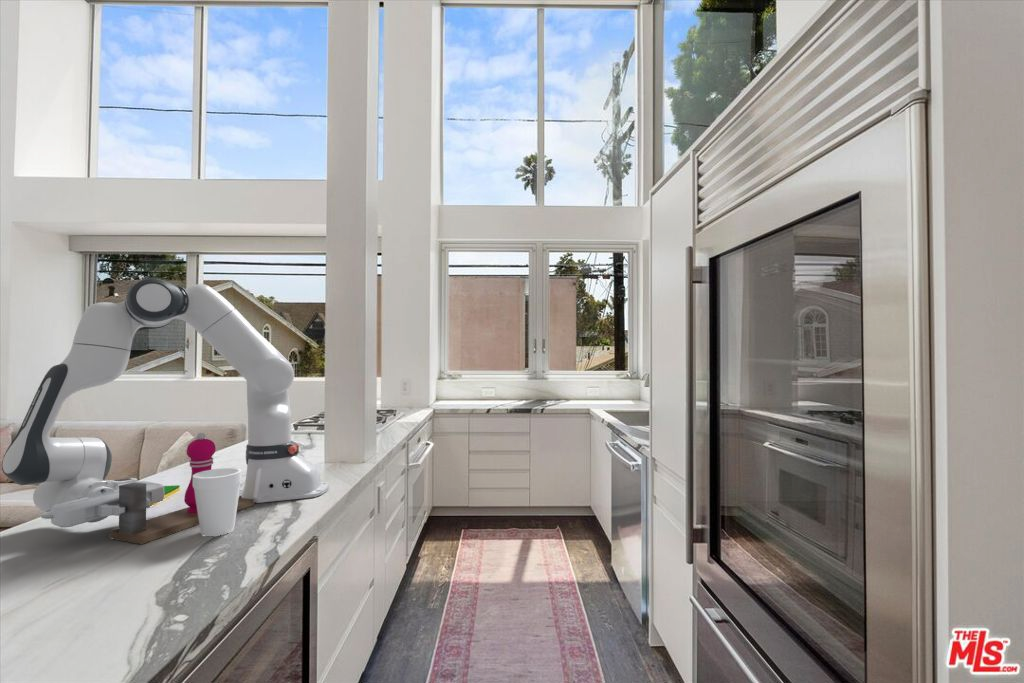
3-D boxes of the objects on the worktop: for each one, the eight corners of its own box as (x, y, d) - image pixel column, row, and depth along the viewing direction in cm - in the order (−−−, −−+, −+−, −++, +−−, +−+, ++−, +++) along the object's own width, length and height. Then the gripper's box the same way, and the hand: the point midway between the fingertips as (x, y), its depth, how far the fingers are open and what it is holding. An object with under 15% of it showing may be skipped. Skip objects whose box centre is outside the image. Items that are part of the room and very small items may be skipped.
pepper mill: (203, 520, 119) (202, 436, 119) (177, 518, 120) (175, 435, 120) (226, 510, 126) (225, 430, 126) (201, 508, 128) (199, 429, 127)
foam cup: (250, 527, 115) (250, 470, 115) (211, 542, 106) (211, 479, 106) (222, 522, 119) (222, 466, 119) (183, 535, 110) (183, 475, 110)
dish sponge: (180, 493, 145) (180, 485, 145) (152, 508, 131) (152, 498, 131) (153, 494, 144) (153, 486, 144) (122, 509, 130) (122, 500, 130)
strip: (225, 501, 135) (225, 458, 135) (253, 505, 131) (253, 460, 131) (109, 538, 109) (109, 484, 109) (140, 544, 105) (141, 488, 105)
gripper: (35, 499, 103) (78, 506, 98) (140, 476, 122) (180, 480, 117) (35, 531, 103) (78, 539, 98) (140, 502, 122) (180, 508, 117)
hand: (134, 507), depth 108 cm, fingers open, 4 cm apart
